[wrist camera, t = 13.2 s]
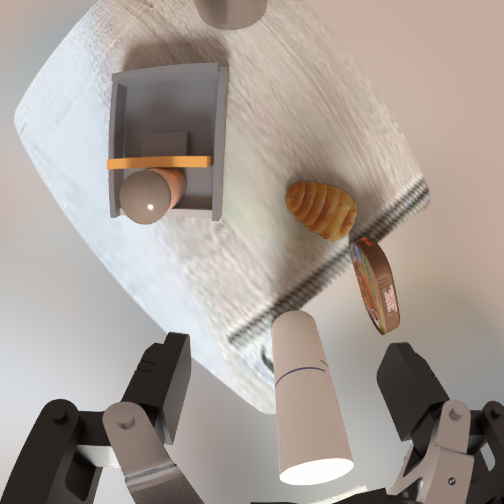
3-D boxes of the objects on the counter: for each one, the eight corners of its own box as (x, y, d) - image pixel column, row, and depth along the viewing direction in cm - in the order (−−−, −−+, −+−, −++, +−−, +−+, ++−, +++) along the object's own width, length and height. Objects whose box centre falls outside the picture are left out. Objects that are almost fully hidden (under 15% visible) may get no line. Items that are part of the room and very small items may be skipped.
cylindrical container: (284, 304, 41) (305, 456, 17) (323, 318, 42) (368, 458, 18) (263, 338, 43) (266, 482, 20) (302, 350, 44) (325, 485, 21)
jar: (145, 164, 33) (118, 171, 26) (187, 163, 33) (168, 169, 26) (146, 207, 35) (121, 223, 28) (187, 207, 35) (169, 225, 28)
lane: (123, 82, 29) (106, 74, 25) (229, 73, 30) (224, 62, 25) (121, 212, 36) (104, 221, 31) (221, 215, 36) (216, 225, 32)
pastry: (275, 213, 36) (277, 220, 33) (297, 167, 34) (302, 168, 31) (335, 241, 37) (343, 250, 34) (358, 198, 35) (368, 204, 32)
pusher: (125, 136, 32) (107, 135, 27) (215, 132, 32) (208, 129, 27) (124, 166, 33) (107, 169, 29) (213, 165, 33) (206, 167, 29)
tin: (343, 234, 37) (364, 256, 29) (363, 226, 36) (388, 246, 29) (366, 315, 42) (384, 347, 34) (383, 308, 41) (403, 338, 33)
